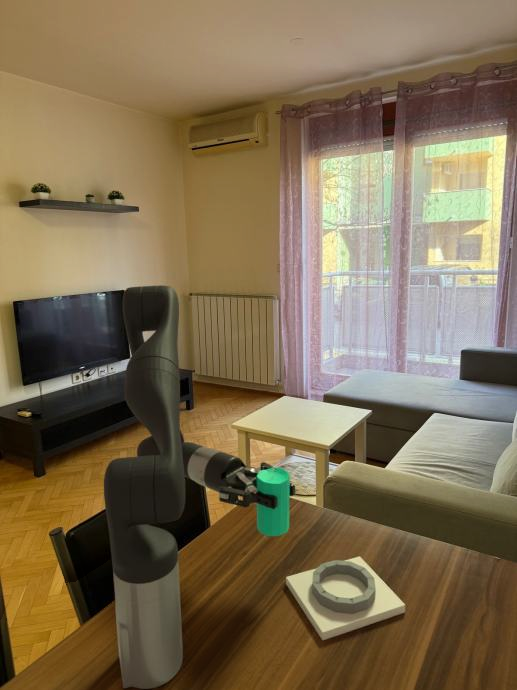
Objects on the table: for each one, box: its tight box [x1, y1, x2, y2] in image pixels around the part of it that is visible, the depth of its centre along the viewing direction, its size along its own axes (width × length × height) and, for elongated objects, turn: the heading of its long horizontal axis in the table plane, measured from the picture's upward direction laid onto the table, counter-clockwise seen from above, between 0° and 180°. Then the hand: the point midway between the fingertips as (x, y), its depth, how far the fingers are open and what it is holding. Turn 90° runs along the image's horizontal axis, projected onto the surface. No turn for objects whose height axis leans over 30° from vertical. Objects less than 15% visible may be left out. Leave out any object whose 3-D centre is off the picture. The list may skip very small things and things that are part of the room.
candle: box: [256, 466, 291, 537], centre depth 88 cm, size 6×6×12 cm
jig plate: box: [285, 555, 406, 641], centre depth 85 cm, size 16×14×4 cm
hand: (285, 496), depth 86 cm, fingers closed on candle, 5 cm apart
